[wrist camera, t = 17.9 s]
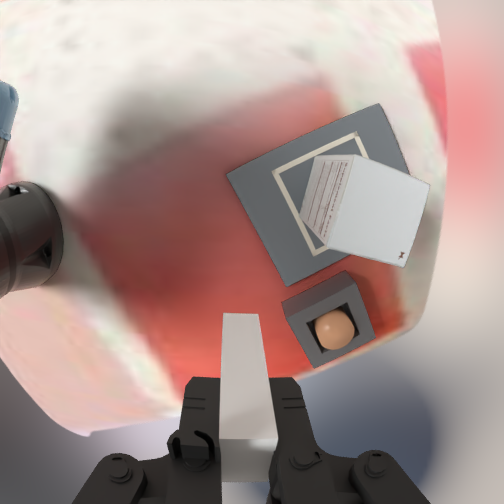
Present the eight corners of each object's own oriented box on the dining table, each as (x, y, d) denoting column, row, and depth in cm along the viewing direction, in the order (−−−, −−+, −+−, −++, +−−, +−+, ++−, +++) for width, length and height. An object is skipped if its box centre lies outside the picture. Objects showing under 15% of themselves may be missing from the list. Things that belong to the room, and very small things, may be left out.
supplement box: (372, 173, 32) (434, 185, 20) (353, 233, 34) (405, 272, 22) (313, 153, 31) (355, 151, 19) (295, 216, 33) (325, 250, 21)
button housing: (308, 351, 40) (313, 368, 36) (281, 302, 37) (285, 318, 33) (365, 322, 39) (376, 337, 35) (345, 270, 36) (355, 282, 32)
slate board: (285, 284, 36) (286, 287, 36) (226, 174, 32) (225, 174, 31) (419, 213, 34) (422, 214, 33) (376, 104, 30) (379, 102, 29)
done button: (319, 337, 38) (326, 355, 34) (306, 312, 36) (313, 329, 33) (348, 322, 37) (358, 338, 33) (338, 296, 36) (348, 312, 32)
